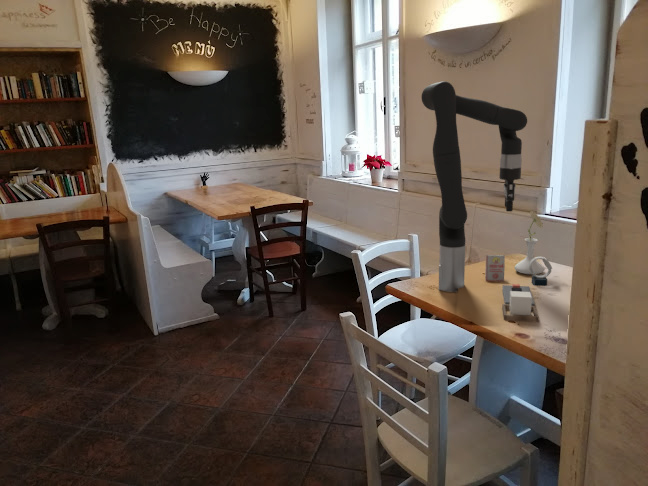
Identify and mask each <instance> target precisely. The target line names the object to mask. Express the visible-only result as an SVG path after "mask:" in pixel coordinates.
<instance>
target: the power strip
mask: <svg viewBox="0 0 648 486" xmlns="http://www.w3.org/2000/svg"><path fill="white" fill-rule="evenodd" d="M501 291H502V296H503V301H504V303H503V304H508V305H509V303H510V291H520V292H530V293H531V296H532V304H531V306H535V305H536V303H535V300H534V297H533V294H532V290H531V287H530V286H528V285H521V284H519V283H512V285H509V284H508V285H504V284H503V285H502V290H501ZM535 307H536V306H535Z"/></svg>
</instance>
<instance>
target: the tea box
mask: <svg viewBox="0 0 648 486" xmlns="http://www.w3.org/2000/svg"><path fill="white" fill-rule="evenodd" d="M505 261H506V260H505V255H502V254H501V255H500V254H499V255H496V254H493V255H492V254H486V256H485V275H484V279H485V281H486V282H505V269H506V267H505V266H506V265H505V264H506V263H505Z"/></svg>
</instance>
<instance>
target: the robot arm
mask: <svg viewBox="0 0 648 486" xmlns="http://www.w3.org/2000/svg"><path fill="white" fill-rule="evenodd" d="M421 102H422V104H423V107H425V108H426V109H428V110H430V111H434V115H435V121H436V122H435V123H436V126H435V127H436V128H435V135H434V138H433V143H432V156H433V165H434V170H435V175H436V177H437V178H436V179H437V182H438V185H439V189H440V192H441V193H440V195H441V207H440V208H439V212H438V213H439V215H438V229H439V230H438V231H439V232H438V235H439V266H438V290H439V291H444V292H447V293H458V292H459V289H462V288H464V287H465V271H466V268H465V267H466V266H465V265H466V263H465V261H466V234H465V233H466V231H465V223H467V220H468V211H467V207H466V203H465V199H464V194H463V185H462V184H463V182H462V180H463V179H462V177H463V175H462V159H461V151H460V145H459V134H458V125H457V115H460V116H463V117H466V118H469V119H473V120H476V121H479V122H481V123H485V124H488V125H491V126H492V125H493V126H498V131H499V136H500V140H501V154H500V159H499V179H500V180H504V183H503V194H504V207H505V211H506V212H510V213H511V212H513V208H514V207H513V206H514V201H515V196H516V187H517V186H516V185H517V184H516V183H515V182H514V181H515V180H516V181H517V180H518V181H519V180H521V177H522V145H523V142H522V139H521V138H519V137H518V135H517V132H519V131H521V130H523V129H525V128H526V126H527V124H528V117H527V115H526V114H525V113H524V111H521V110H519V109H514V108H509V107H505V106H504V107H503V106H501V105H497V104H495V103H493V102H490V101H486V100H482V99H476V98H470V97H465V96H460V95H457V94H456V89H455V88H454V86H453V84H452V83H450V82H448V81H444V80H443V81H438V82H434V83H431V84H429V85H427V86H426V87H425V88H423V91H422V92H421Z"/></svg>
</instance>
